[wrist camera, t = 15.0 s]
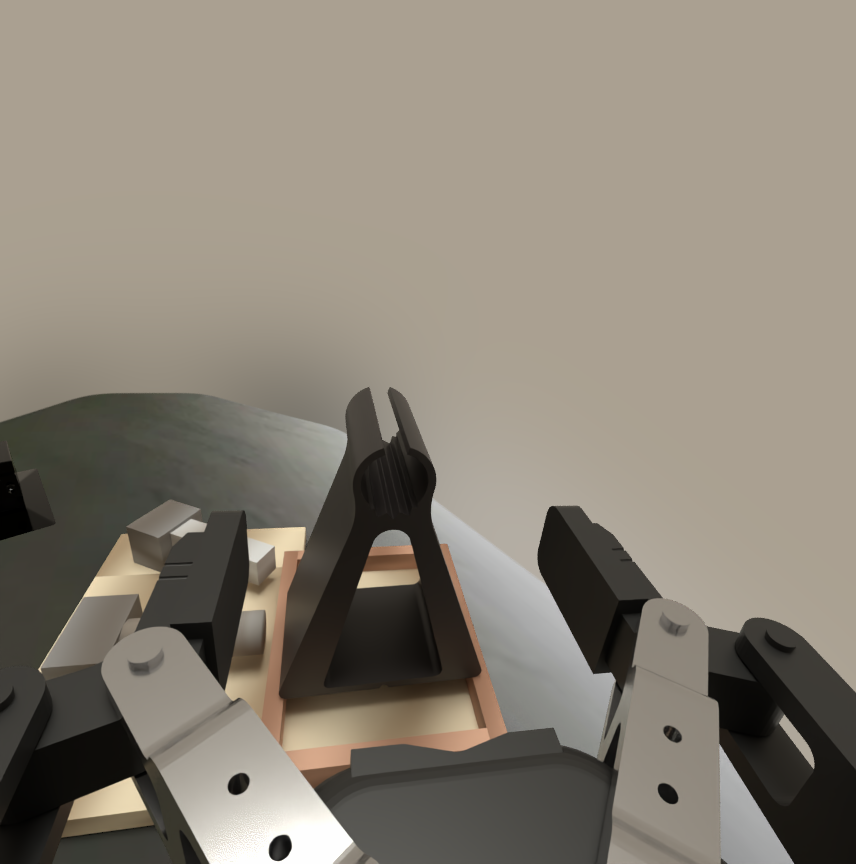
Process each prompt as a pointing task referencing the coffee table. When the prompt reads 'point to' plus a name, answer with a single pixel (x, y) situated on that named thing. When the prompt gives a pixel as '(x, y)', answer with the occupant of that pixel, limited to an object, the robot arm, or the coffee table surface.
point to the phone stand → (343, 565)
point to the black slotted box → (21, 499)
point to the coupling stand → (269, 661)
